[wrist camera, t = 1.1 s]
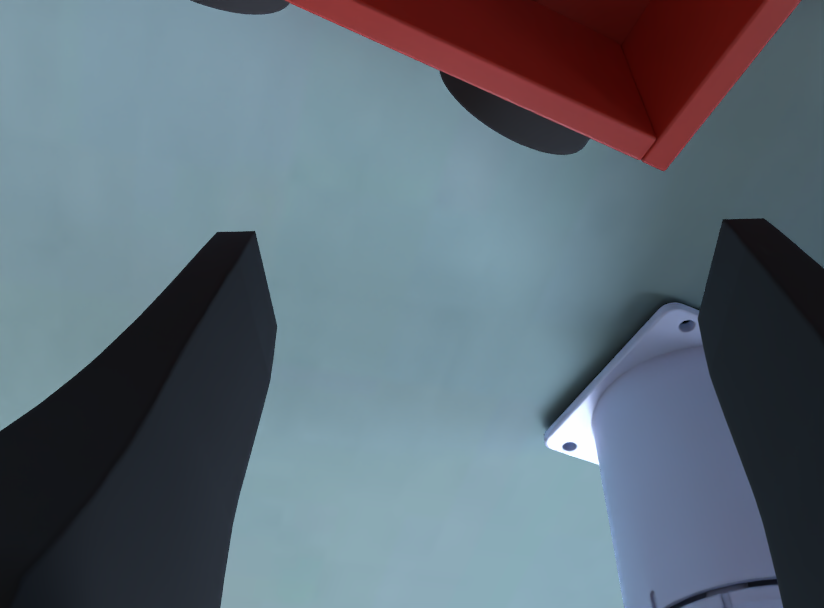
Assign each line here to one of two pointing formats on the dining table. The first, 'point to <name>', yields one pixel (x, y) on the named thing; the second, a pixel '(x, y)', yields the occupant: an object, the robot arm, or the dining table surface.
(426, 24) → the cart
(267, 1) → the cart wheels
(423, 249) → the dining table surface
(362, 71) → the dining table surface
